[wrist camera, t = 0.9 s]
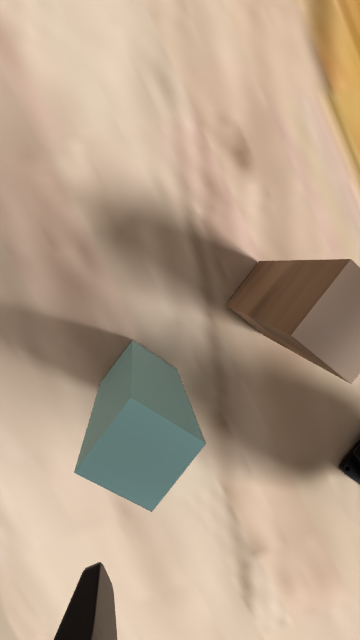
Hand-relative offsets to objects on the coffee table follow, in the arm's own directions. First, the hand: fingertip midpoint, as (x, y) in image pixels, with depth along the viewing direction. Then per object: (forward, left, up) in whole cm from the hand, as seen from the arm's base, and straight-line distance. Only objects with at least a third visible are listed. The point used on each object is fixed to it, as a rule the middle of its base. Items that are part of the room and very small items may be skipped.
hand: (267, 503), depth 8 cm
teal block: (+2, +3, -14) cm, 14 cm away
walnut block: (-2, -7, -14) cm, 15 cm away
